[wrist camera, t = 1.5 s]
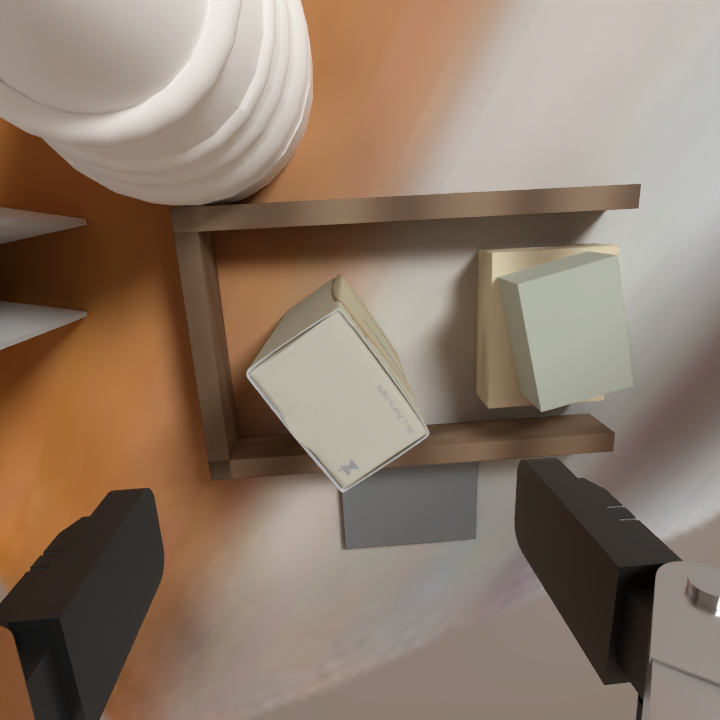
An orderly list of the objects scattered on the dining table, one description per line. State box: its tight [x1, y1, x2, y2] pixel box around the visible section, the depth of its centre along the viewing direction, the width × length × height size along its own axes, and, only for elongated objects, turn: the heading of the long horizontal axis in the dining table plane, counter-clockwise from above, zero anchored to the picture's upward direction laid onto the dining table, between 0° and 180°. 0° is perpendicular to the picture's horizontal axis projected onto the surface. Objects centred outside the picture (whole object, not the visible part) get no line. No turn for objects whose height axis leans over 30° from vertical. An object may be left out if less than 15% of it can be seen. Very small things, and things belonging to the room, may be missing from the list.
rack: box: [170, 184, 641, 480], centre depth 28 cm, size 24×15×3 cm, turn 93°
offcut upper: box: [498, 251, 634, 412], centre depth 26 cm, size 5×7×3 cm
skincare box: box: [246, 274, 429, 493], centre depth 23 cm, size 6×4×12 cm
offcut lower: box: [476, 243, 619, 408], centre depth 29 cm, size 7×9×3 cm
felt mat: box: [342, 461, 477, 549], centre depth 32 cm, size 9×7×1 cm
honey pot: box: [0, 0, 313, 207], centre depth 17 cm, size 13×13×18 cm
